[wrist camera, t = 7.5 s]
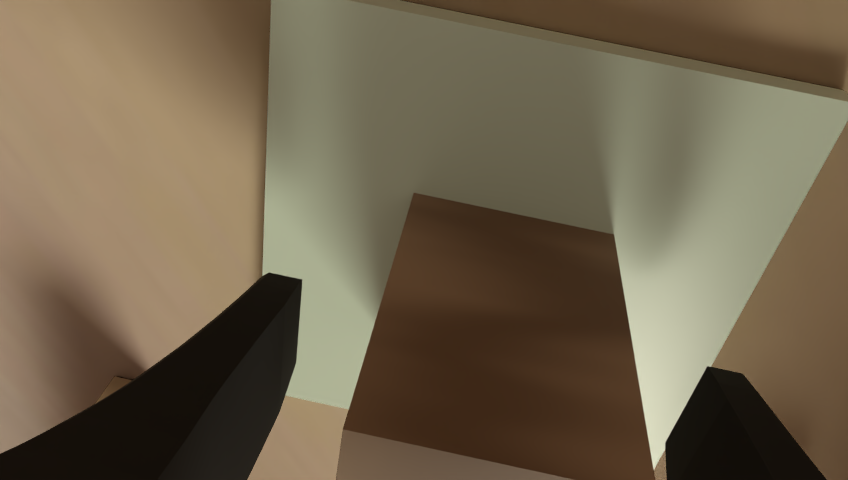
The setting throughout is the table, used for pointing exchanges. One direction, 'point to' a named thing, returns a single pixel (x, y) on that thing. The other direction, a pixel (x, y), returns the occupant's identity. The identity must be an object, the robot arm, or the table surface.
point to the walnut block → (498, 356)
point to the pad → (527, 171)
